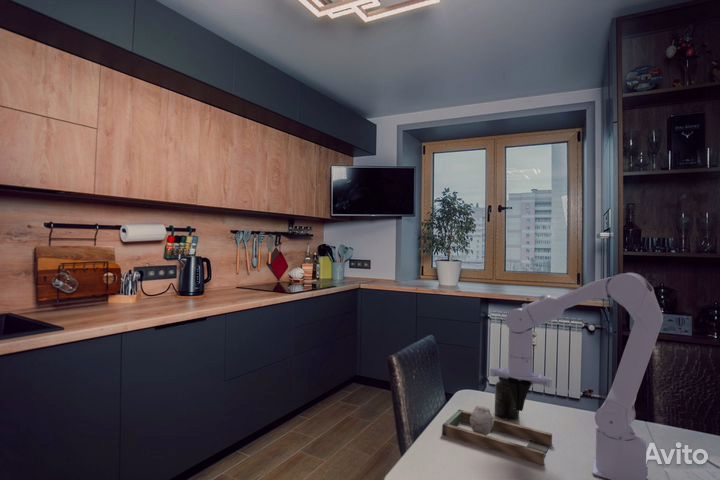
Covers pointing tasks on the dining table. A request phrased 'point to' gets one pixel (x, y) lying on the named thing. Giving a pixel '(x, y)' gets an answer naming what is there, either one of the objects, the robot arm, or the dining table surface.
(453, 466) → the dining table surface
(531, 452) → the box
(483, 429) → the white head sculpture
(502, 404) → the supplement bottle
